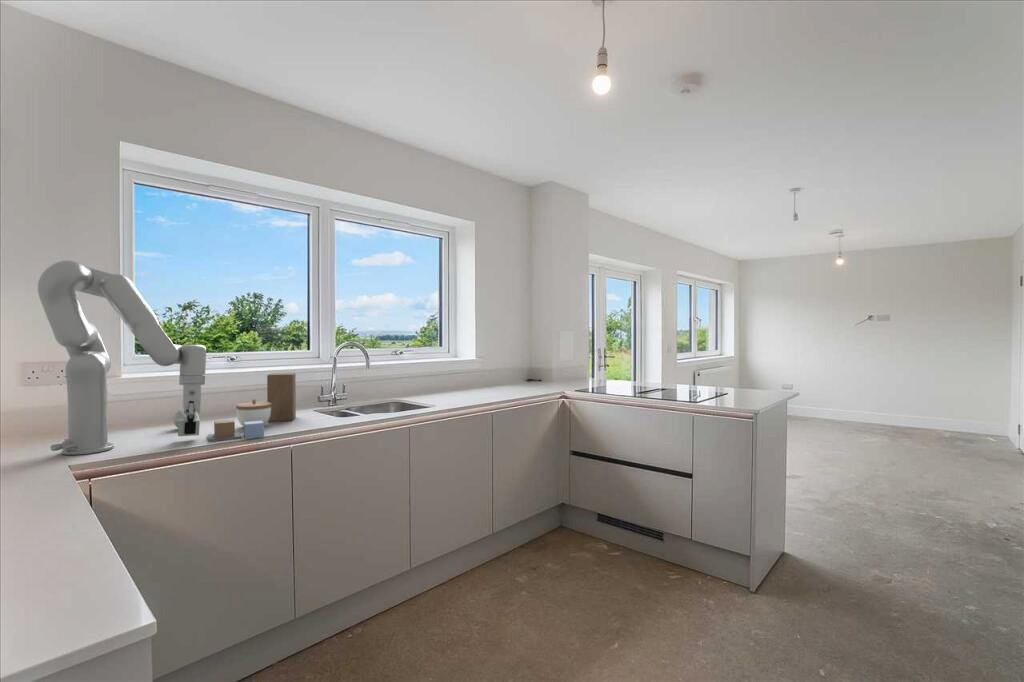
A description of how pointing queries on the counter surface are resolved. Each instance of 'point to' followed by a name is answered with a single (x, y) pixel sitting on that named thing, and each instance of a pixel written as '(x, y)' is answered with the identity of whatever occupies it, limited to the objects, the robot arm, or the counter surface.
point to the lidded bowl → (253, 411)
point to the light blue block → (253, 429)
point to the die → (181, 417)
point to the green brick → (182, 425)
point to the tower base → (224, 431)
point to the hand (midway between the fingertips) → (189, 431)
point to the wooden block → (281, 396)
